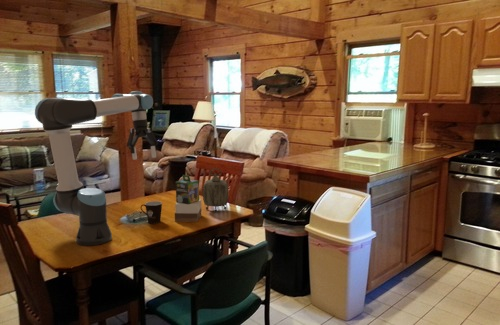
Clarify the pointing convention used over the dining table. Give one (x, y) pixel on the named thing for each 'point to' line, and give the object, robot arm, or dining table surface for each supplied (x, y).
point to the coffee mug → (153, 211)
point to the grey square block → (187, 217)
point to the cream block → (188, 207)
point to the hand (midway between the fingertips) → (144, 158)
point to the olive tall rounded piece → (215, 192)
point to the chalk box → (187, 190)
